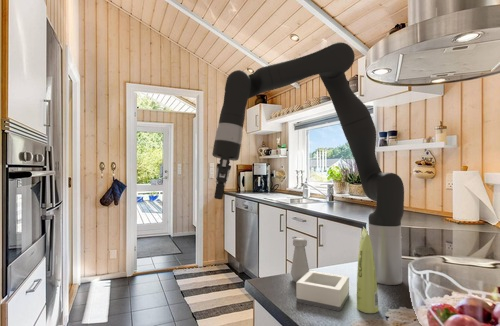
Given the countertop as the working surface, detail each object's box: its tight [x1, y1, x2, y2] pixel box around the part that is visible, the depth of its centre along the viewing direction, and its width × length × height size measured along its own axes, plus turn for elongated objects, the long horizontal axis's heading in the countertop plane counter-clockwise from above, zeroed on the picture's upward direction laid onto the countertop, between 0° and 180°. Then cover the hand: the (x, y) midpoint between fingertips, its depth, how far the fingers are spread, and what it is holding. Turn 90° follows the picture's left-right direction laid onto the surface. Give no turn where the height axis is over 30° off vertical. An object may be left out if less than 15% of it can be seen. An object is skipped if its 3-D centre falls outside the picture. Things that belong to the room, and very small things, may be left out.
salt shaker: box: [290, 237, 310, 283], centre depth 94 cm, size 6×6×13 cm
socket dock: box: [295, 270, 350, 312], centre depth 80 cm, size 11×11×5 cm
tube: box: [356, 226, 379, 314], centre depth 74 cm, size 6×5×20 cm
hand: (218, 198), depth 84 cm, fingers open, 8 cm apart
